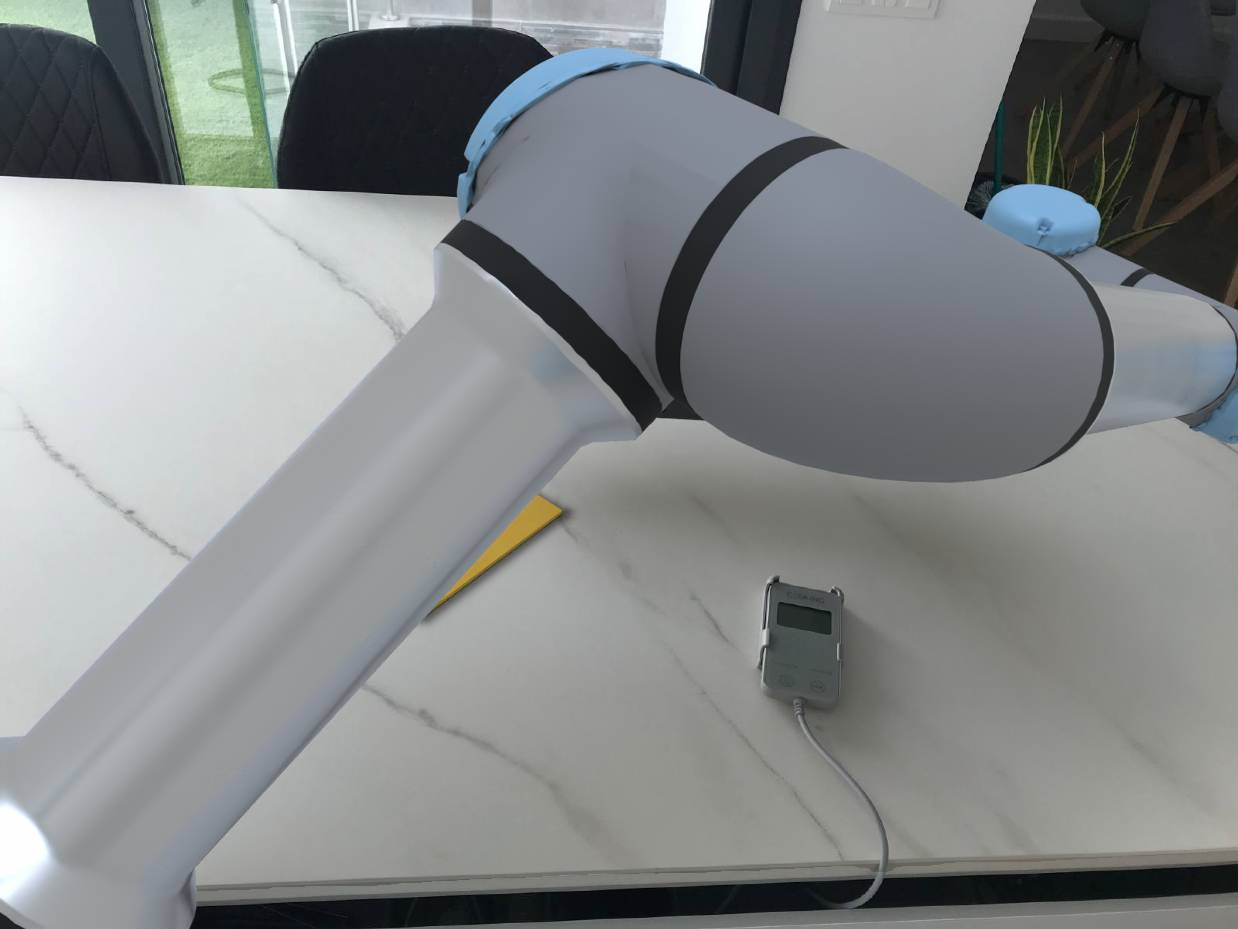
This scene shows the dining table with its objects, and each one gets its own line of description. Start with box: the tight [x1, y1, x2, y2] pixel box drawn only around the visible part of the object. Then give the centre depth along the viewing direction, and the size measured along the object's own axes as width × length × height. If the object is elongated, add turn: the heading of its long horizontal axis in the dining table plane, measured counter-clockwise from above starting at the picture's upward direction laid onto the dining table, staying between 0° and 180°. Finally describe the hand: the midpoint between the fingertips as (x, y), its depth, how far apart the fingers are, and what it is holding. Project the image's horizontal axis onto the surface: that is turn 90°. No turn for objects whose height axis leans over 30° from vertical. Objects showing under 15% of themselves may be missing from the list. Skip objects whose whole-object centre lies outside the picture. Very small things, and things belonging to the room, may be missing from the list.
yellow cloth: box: [428, 494, 563, 614], centre depth 84 cm, size 16×16×1 cm
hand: (561, 343), depth 77 cm, fingers closed on beverage can, 6 cm apart
